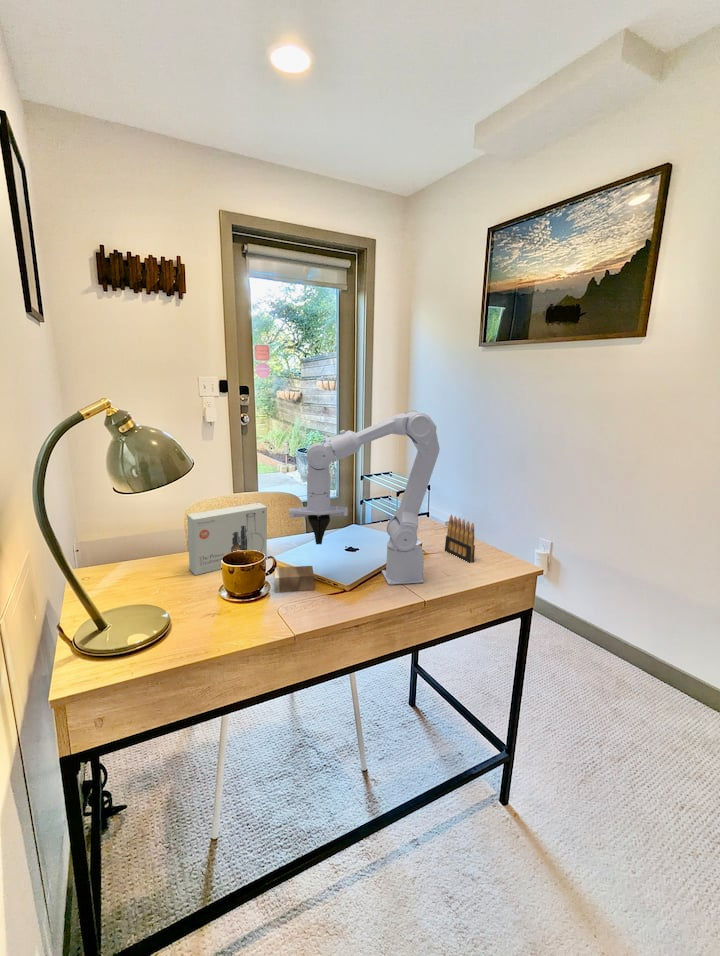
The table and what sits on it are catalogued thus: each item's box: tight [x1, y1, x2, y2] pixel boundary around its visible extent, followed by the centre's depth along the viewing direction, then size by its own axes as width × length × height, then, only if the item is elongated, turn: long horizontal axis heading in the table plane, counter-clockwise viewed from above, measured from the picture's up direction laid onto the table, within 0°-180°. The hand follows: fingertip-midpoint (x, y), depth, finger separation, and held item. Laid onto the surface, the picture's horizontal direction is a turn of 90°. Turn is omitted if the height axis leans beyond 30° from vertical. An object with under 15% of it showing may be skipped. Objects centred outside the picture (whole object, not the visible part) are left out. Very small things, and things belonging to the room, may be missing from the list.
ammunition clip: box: [444, 514, 476, 564], centre depth 133 cm, size 11×2×12 cm, turn 32°
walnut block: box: [274, 565, 315, 593], centre depth 112 cm, size 4×6×10 cm
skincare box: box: [186, 502, 268, 576], centre depth 122 cm, size 21×6×16 cm, turn 129°
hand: (318, 543), depth 113 cm, fingers closed
